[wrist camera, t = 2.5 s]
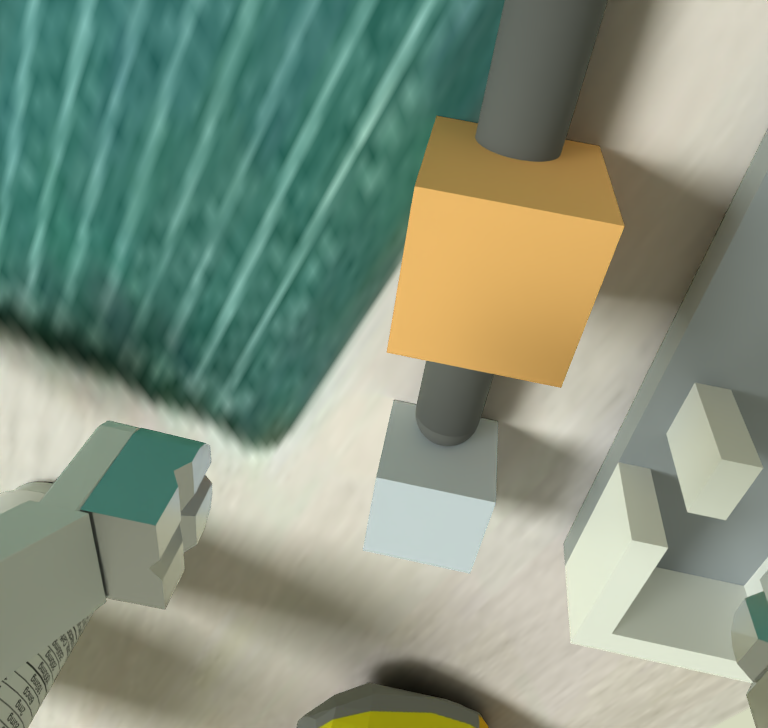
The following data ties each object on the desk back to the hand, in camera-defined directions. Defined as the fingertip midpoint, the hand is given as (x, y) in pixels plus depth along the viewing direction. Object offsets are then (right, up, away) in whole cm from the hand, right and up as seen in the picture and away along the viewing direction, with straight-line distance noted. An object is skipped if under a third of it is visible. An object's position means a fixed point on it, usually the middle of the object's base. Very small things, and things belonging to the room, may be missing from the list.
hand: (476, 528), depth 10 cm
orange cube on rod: (+1, +5, +9) cm, 10 cm away
